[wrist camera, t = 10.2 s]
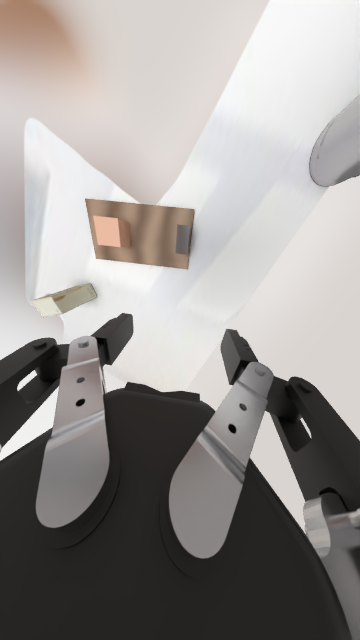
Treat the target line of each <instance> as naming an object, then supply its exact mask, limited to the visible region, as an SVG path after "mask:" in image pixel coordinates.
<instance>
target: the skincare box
mask: <svg viewBox="0 0 360 640" xmlns="http://www.w3.org/2000/svg"><path fill="white" fill-rule="evenodd" d="M96 297H97V295H96V293H95V291H94V289H93V287H92V286H91V284H84V285H80V286H76V287H72V288H69V289H66V290H63V291H60V292H57V293H54V294H51V295H48V296H45V297H42V298H39V299H35V300H32V301H31V302H32V303H33V305H34V306H35V308H36V309H37V310H38V312H39V313H40V315H41V316H42V317H48V316H54V315H60V314H64V313H66V312H68V311H70V310H72V309H74V308H76V307H78V306H80V305H82V304H84V303H86V302H88V301H90V300H92V299H94V298H96Z"/></svg>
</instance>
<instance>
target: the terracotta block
mask: <svg viewBox="0 0 360 640" xmlns="http://www.w3.org/2000/svg"><path fill="white" fill-rule="evenodd" d="M93 218H94V224H95V230H96V236H97V242H98V245H105V246H114V247H130V233H129V222H126V221H123V220H121V219H118V218H110V217H101V216H93Z"/></svg>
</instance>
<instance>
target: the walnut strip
mask: <svg viewBox="0 0 360 640" xmlns="http://www.w3.org/2000/svg"><path fill="white" fill-rule="evenodd" d="M85 201H86V207H87V212H88V217H89V223H90V228H91V234H92V239H93V244H94V250H95V255H96V259H104V260H113V261H122V262H130V263H139V264H147V265H156V266H164V267H173V268H182V269H188V260H189V251H190V243H191V234H192V225H193V217H194V209H186V208H176V207H166V206H155V205H144V204H135V203H124V202H114V201H104V200H94V199H85ZM93 216H101V217H110V218H118V219H121V220H123V221H126V222H129V233H130V247H114V246H105V245H98V242H97V236H96V230H95V224H94V218H93Z"/></svg>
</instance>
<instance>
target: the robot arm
mask: <svg viewBox="0 0 360 640" xmlns="http://www.w3.org/2000/svg"><path fill="white" fill-rule="evenodd" d="M310 172H311V176H312V178H313V180H314V181H315V182H316V183H317V184H319V185H321V186H332V185H336V184H338V183H340V182H343V181H345V180H347V179H349V178H351V177H356V176H359V175H360V95H359V96H358V97H357V98H356V99H355V100H354V101H353V102H351V103H350V104H349V105H348V106H347V107H346V108H345V109H344V110H343V111H342V112H341V113H340V114H339V115H338V116H337V117H336V118H334V119H333V120H332V121H331V122H330V123H329V124H328V125H327V127H326V128H325V129H324V130H323V132H322V133H321V135H320V136H319V138H318V140H317V142H316V144H315V146H314V148H313V152H312V155H311V160H310ZM132 335H133V317H132V315H131V314H125V313H122V314H121V315H119V316H118V317H117V318H114V319H111V320H109V321H108V322H107V323H106V324H104V325H103V326H102V327H101V328H100V329H98V330H97V331H96V332H95V333H94V334H92V335H91V336H84V337H80V338H77V339H75V340H74V341H72V342H71V343H70V344H62V345H57V342H56V340H55V339H53V338H41V339H38V340H34V341H32V342H30V343H28V344H26V345H25V346H23V347H21V348H20V349H18V350H16V351H15V352H13V353H12V354H10V355H8V356H7V357H5V358H3V359H2V360H0V452H1V448H2V447H3V446H4V445H5V444H6V443H7V442H8V441H9V440H10V439H11V437H12V436H13V435H14V434H15V433H16V432H17V431H18V430H19V429H20V428H21V427H22V425H23V424H24V423H25V422H26V421H27V420H28V419H29V418H30V417H31V415H32V414H33V413H34V412H35V411H36V410H37V409H38V408H39V407H40V406H41V405H42V404H43V402H44V401H45V400H46V399H47V398H48V397H49V396H50V395H51V394H52V393H53V392H54V391H55V389H56V388H57V387H58V386H59V392H58V398H57V404H56V411H55V417H54V425H53V427H52V428H51V429H49V430H48V431H46V432H45V433H43V434H42V435H40V436H39V437H37V438H35V439H34V440H32V441H31V442H30V443H28V444H26V445H25V446H23V447H21V448H20V449H18V450H17V451H15V452H14V453H12V454H10V455H9V456H7V457H6V458H4V459H3V460H1V461H0V640H360V441H359V439H357V437H356V436H355V435H354V433H353V432H352V431H351V430H350V428H349V427H348V426H347V425H346V424H345V422H344V421H343V420H342V419H341V417H340V416H339V415H338V414H337V413H336V411H335V410H334V409H333V408H332V406H331V405H330V404H329V403H328V401H327V400H326V399H325V398H324V397H323V395H322V394H321V393H320V392H319V390H318V389H317V388H316V387H315V386H314V385H312V384H311V383H309V382H308V381H306V380H304V379H302V378H299V377H291V378H290V379H289V381H285V380H283V379H280V378H278V377H275V376H274V375H273V373H272V371H271V370H270V369H269V368H268V367H266V366H265V365H263V364H261V363H259V362H258V360H257V358H256V356H255V355H254V353H253V351H252V350H251V348H250V347H249V344H248V342H247V341H246V340H245V339H244V338H243V337H240V336H239V334H238V332H237V330H232V329H226V331H225V334H224V337H223V340H222V343H221V353H222V357H223V361H224V365H225V369H226V373H227V376H228V381H229V384H230V385H233V387H232V388H231V389H230V391H229V393H228V394H227V396H226V397H225V399H224V400H223V402H222V403H221V405H220V406H219V408H218V409H217V411H215V410H214V409H213V408H211V407H210V406H209V405H208V404H206V403H204V402H203V401H200V394H197V393H191V392H185V391H175V392H160V391H158V390H155V389H153V388H151V387H149V386H146V385H143V384H137V383H131V382H127V384H126V386H125V388H120V389H116V390H113V391H110V392H108V393H107V392H106V385H105V379H104V372H103V366H104V365H105V364H107V365H112V364H113V362H114V361H115V359H116V358H117V357H118V355H119V354H120V352H121V351H122V350H123V348H124V347H125V345H126V344H127V343H128V341H129V340H130V339H131V337H132ZM33 370H35V371H36V373H37V376H35V377H34V378H33V379H32V380H31V381H30V382H29V383H27V384H26V385H25V386H24V387H23V388H22V389H20V390H19V391H17V386H18V384H19V382H20V381H21V380H22V379H23V378H25V377H26V376H27V375H28V374H30V373H31V372H32V371H33ZM265 411H267V412H269V413H270V415H271V417H272V419H273V422H274V425H275V427H276V430H277V432H278V434H279V437H280V440H281V442H282V444H283V447H284V449H285V451H286V454H287V457H288V459H289V462H290V464H291V467H292V469H293V472H294V474H295V476H296V479H297V481H298V484H299V487H300V489H301V491H302V494H303V497H304V499H305V502H306V503H305V504H304V508H303V514H304V520H305V523H306V524H305V532H306V534H305V533H304V531H303V530H302V529H301V527H300V526H299V524H298V523H297V522H296V520H295V519H294V518H293V516H292V515H291V513H290V512H289V511H288V509H287V508H286V507H285V505H284V504H283V503H282V501H281V500H280V498H279V497H278V496H277V494H276V493H275V492H274V490H273V489H272V488H271V486H270V485H269V483H268V482H267V480H266V479H265V478H264V477H263V475H262V474H261V472H260V471H259V470H258V468H257V467H256V466H255V464H254V463H253V461H252V460H251V459H250V454H251V451H252V448H253V444H254V442H255V439H256V436H257V433H258V430H259V427H260V424H261V421H262V418H263V415H264V412H265ZM301 418H303V419H304V421H305V423H306V424H307V426H308V428H309V429H310V432H311V438H310V436H309V434H308V433H307V431H306V429H305V427H304V425H303V424H302V422H301V420H300V419H301ZM306 535H307V536H306Z"/></svg>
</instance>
